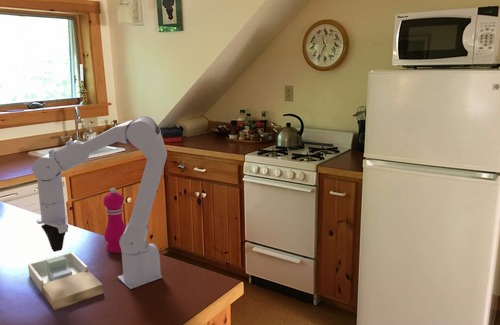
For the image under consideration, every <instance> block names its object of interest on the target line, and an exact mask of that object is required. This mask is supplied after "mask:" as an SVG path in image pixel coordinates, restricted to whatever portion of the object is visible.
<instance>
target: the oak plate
mask: <svg viewBox="0 0 500 325" xmlns="http://www.w3.org/2000/svg"><path fill="white" fill-rule="evenodd" d="M103 285H104V284H103V283H102V282H101V281H100V280H99V279H98V278H97V277H95V275H94V274H93V273H92V272H91V271H90V270H89V269H88V270H86V271H83V272H80V273H77V274H73V275H70V276H67V277H64V278H61V279H57V280H54V281H51V282H48V283H44V284H41V288H42V292H41V294H42V295H43V297H44V298H45V300H46V301H47V302H48V303H49V305H50V306H51V308H52V309H53V310H54V311H56V310H59V309H62V308H65V307H68V306H71V305H73V304H74V305H75V304H76V303H79V302H82V301H86V300H88V299H91V298H93V297H96V296H99V295H103V293H104V287H103Z"/></svg>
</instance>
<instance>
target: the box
mask: <svg viewBox="0 0 500 325" xmlns="http://www.w3.org/2000/svg"><path fill="white" fill-rule="evenodd" d="M60 256H64V257H65V258H66V264H67V267H68V268H69V269H70V270H71V271H72V275H73V274H77V273H80V272H83V271H86V270H88V271H89V266H87V264H85V263H84V261H82V260H81V259H80V258H79V257H78V255H76V254H75V253H74V252H73V251H71V252H67V253H63V254H59V255H57V256H53V257H49V258H46V259H42V260H39V261H35V262H30V263H28V264H27V267H28V275H29V277H30V279H31V280H32V281H33V283H34V284H35V285H36V287H37V289H38V290H39V292H41V293H42V288H41V284H44V283H48V282H51V281H52V280H51V279H50V277H49V276H48V272H47V264H46V260H49V259H53V258H56V257H60Z"/></svg>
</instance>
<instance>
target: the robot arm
mask: <svg viewBox="0 0 500 325" xmlns="http://www.w3.org/2000/svg"><path fill="white" fill-rule="evenodd" d="M115 143H121V144H128V143H131V145H133V146H134V147H135V148H137V149H138V150H139V151H141V153H142V154H143V155H144V157H145V158H146V162H145V166H144V170H143V173H142V177H141V181H140V184H139V187H138V191H137V195H136V198H135V202H134V205H133V209H132V212H131V216H130V219H129V221H128V222H127V224H126V225H125V226H126V228H125V231H124V233H123V235H122V236H121V238H120V242H119V244H120V247H121V250H122V252H121V260H122V261H121V262H122V274H121V275H118V276H117V278H118V279H119V281H121V282H122V283H123V284H124V285H125V286H126V287H127V288H129V289H130V290H131V289H132V290H133V289H135V288H138V287H141V286H143V285H146V284H149V283H150V282H154V281H156V280H159V279H162V278H163V276H162V274H161V273H162V272H161V258H160V257H161V255H160V251H159V248H158V247H157V245H156V244H154V243H149V242H148V241H147V236H148V235H149V231H150V230H149V226H148V224H149V223H148V222H149V220H150V215H151V212H152V209H153V205H154V202H155V197H156V195H157V192H158V188H159V185H160V181H161V178H162V175H163V172H164V168H165V164H166V161H167V157H168V150H167V148H166V145H165V142H164V139H163V135H162V131H161V128H160V127H159V125H158V124H157V122H156V121H155V120H154V119H152V118H151V117H150V116H145V115H144V116H143V115H142V116H139V117H136V119H135V120H134V119H131V120H128V121H125V122H123V123H120V124H119V123H118V124H117V125H115V126H113V127H111V128H109V129H108V130H107V129H106V131H103V132H102V133H99V134H98V135H96V136H94V137H92V138H90V139H88V140H86V141H81V140H78V139H77V140H76V139H75V140H74V141H72V139H71V140H68V141H66V142H65V145H63V146H61V147H59V148H57V149H55V150H54V149H53V148H52V149H50V150H48V152H47V153H45V154H43V155H42V156H41V157H38V158H37V159H36V160H34V162H33V164H32V166H31V171H32V174H33V176H34V177H35V178H36V180H37V189H38V190H37V191H38V199H39V208H40V216H41V217H40V218H38V219H36V223H37V224H38V225H41V229H42V230H43V232H44V234H45V235H46V237H47V240H48V242H49V246H50V247H51V250H52V251H53V252H60V251H62V250H63V247H64V240H65V235H66V233H68V231H69V224H68V223H67V219H68V217H67V214H66V205H65V197H64V196H65V195H64V185H63V184H64V183H63V178H62V177H63V176H62V172H66V171H68V170H71V169H72V168H74V167H76V166H79V165H81V164H83V163H85V162H87V161H88V160H89V157H90V154H92V153H94V152H96V151H100V150H101V149H103V148H105V147H108V146H110V145H113V144H115Z"/></svg>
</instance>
